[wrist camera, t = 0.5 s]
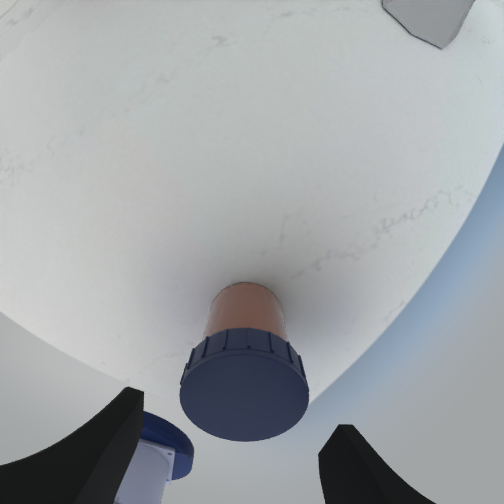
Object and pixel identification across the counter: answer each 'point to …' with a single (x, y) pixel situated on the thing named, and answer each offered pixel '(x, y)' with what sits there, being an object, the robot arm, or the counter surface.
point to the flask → (431, 18)
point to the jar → (246, 310)
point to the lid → (244, 385)
